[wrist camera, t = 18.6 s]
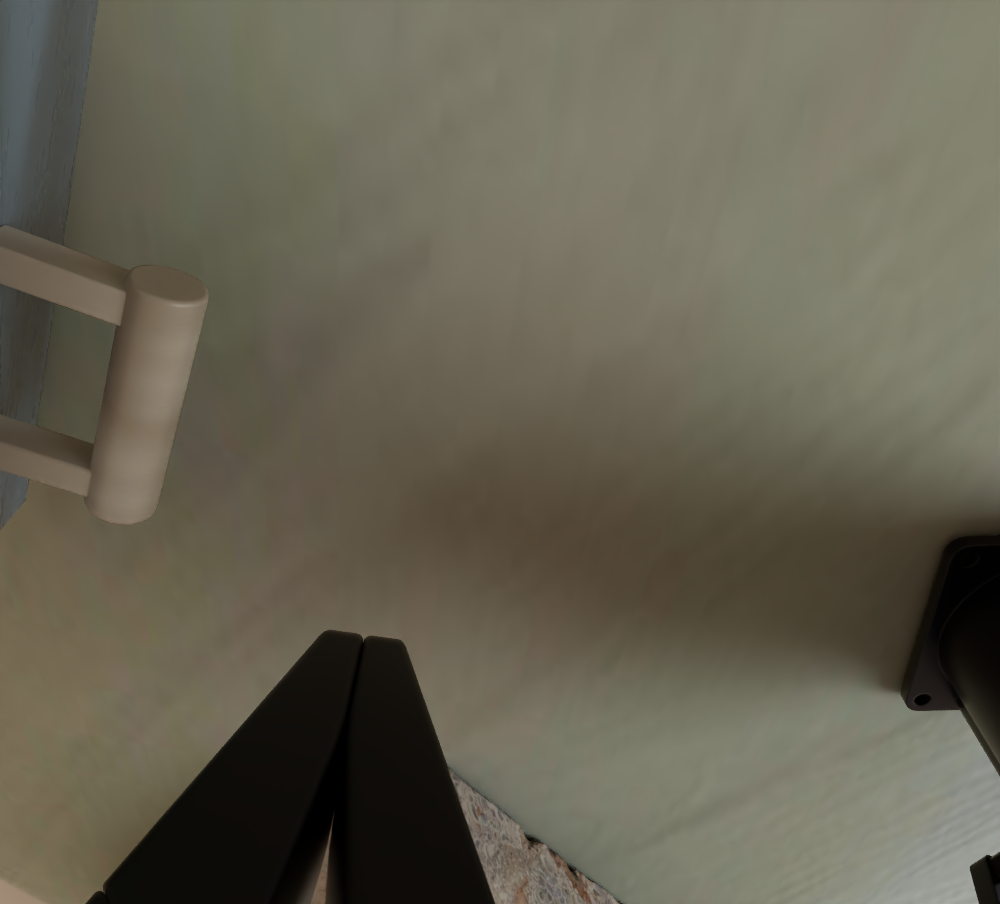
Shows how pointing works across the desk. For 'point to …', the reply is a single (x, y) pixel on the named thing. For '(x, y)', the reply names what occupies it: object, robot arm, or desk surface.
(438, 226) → the desk surface
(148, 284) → the drawer
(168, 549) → the desk surface
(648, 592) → the desk surface
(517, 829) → the geological specimen
